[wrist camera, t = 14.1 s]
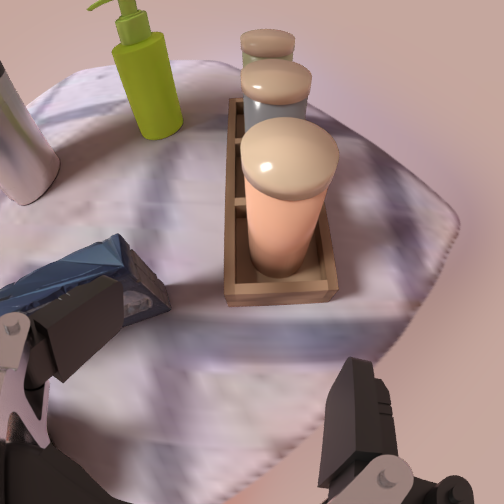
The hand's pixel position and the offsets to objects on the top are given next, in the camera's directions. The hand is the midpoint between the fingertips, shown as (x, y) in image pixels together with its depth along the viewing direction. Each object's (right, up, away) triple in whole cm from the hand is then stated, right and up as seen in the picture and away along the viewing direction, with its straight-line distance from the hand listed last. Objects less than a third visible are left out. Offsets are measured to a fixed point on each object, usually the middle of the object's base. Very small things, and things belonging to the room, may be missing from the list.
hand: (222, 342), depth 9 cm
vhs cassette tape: (-15, -4, +14) cm, 21 cm away
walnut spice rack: (+3, +9, +20) cm, 22 cm away
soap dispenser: (-11, +19, +25) cm, 34 cm away
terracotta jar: (+3, +3, +15) cm, 16 cm away
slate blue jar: (+3, +10, +18) cm, 21 cm away
